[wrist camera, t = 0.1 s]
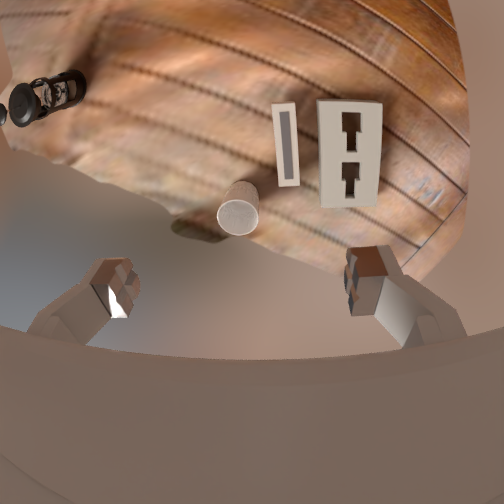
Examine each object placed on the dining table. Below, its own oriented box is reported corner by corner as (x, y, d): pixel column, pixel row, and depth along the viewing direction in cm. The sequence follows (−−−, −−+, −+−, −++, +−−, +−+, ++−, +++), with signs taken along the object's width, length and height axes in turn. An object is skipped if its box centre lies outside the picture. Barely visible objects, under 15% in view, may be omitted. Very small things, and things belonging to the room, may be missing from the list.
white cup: (259, 177, 58) (257, 198, 50) (262, 209, 63) (260, 234, 55) (222, 179, 59) (214, 200, 51) (227, 211, 64) (220, 236, 56)
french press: (73, 59, 41) (-2, 76, 23) (94, 84, 45) (21, 108, 27) (48, 96, 46) (-21, 125, 28) (68, 119, 50) (0, 156, 32)
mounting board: (316, 98, 47) (319, 101, 43) (375, 100, 45) (382, 103, 42) (319, 198, 60) (321, 207, 57) (370, 197, 59) (376, 206, 55)
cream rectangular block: (271, 100, 48) (271, 104, 43) (292, 99, 47) (294, 103, 43) (278, 175, 58) (278, 187, 53) (297, 174, 57) (299, 185, 52)
